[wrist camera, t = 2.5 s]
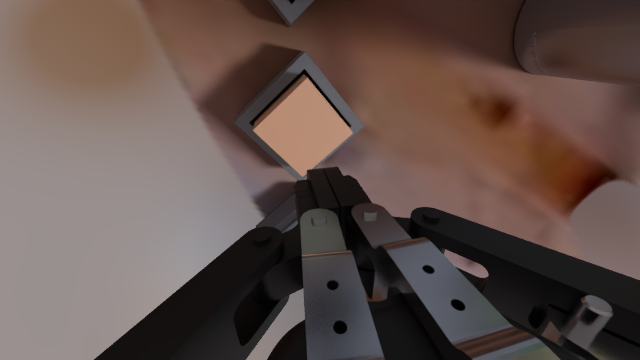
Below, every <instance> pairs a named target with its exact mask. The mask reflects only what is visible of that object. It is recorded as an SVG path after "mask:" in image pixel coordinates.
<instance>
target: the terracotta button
mask: <svg viewBox="0 0 640 360" xmlns="http://www.w3.org/2000/svg"><path fill="white" fill-rule="evenodd" d="M253 131H254V132H255V133H256V134H257V135H258V136H259V137H260V138H261V139H262V140H263V141H265V142H266V143H267V144H268V145H269V146H270V147H271V148H272V149H273V150H274V151H275V152H276V153H277V154H278V155H280V156H281V157H282V158H283V159H284V160H285V161H286V162H287V163H288V164H289V165H290V166H291V167H292V168H294V169H295V170H296V171H297V172H298V173H299V174H300V175H301V176H302V177H303V176H304V175H306V174H307V170H308V169H312V168H314V167H315V166H316V165H317V164H318V163H319V162H321V161H322V160H323V159H324V158H325V157H326V156H327V155H329V154H330V153H331V152H332V151H333V150H334V149H336V148H337V147H338V146H339V145H340V144H341V143H342V142H344V141H345V140H346V139H347V138H348V137H349V136H351V135H352V134H353V132H352V131H351V129H350V128H349V127H348V126H347V125H346V123H345V122H344V121H343V120H342V119H341V117H340V116H339V115H338V114H337V113H336V111H335V110H334V109H333V108H332V107H331V105H330V104H329V103H328V102H327V101H326V99H325V98H324V97H323V96H322V95H321V93H320V92H319V91H318V90H317V88H316V87H315V86H314V85H313V84H312V82H311V81H310V80H309V79H308V78H307V77H306V76H305V75H304V74H302V75H301V76H300V77H299V78H298V79H297V80H296V81H295V82H294V83H293V84H292V85H290V86H289V87H288V88H287V89H286V90H285V91H284V92H283V93H282V94H281V95H280V96H279V97H278V98H277V99H276V100H275V101H274V102H273V103H272V104H271V105H270V106H269V107H268V108H267V109H266V110H265V111H264V112H263V113H262V114H261V115H260V116H259V117H258V118H257V119H256V120H255V122H254V127H253Z"/></svg>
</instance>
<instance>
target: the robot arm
mask: <svg viewBox="0 0 640 360" xmlns="http://www.w3.org/2000/svg"><path fill="white" fill-rule="evenodd" d="M514 49H515V53H516V58H517V59H518V61H519V63H520V65H521V66H522V67H523V68H524V69H525V70H526V71H528V72H530V73H532V74H537V75H545V76H553V77H562V78H570V79H577V80H586V81H595V82H604V83H613V84H621V85H630V86H639V87H640V0H526V2H525V4H524V6H523V8H522V10H521V12H520V15H519V18H518V21H517V24H516V29H515V35H514ZM294 192H295V205H296V215H297V221H298V224H297V225H296V226H295V227H294V228H292V229H291V230H289V231H286V232H284V233H281V231H280V230H278V229H277V228H274V227H269V226H264V227H258V228H255V229H252V230H250V231H248V232H247V233H246V234H245V235H243V236H242V237H241V238H240V239H239V240H237V241H236V242H235V243H234V244H233V245H231V246H230V247H229V248H228V249H227V250H225V251H224V252H223V253H222V254H221V255H220V256H218V257H217V258H216V259H214V260H213V261H212V262H211V263H210V264H208V265H207V266H206V267H205V268H204V269H202V270H201V271H200V272H199V273H198V274H196V275H195V276H194V277H193V278H192V279H190V280H189V281H188V282H187V283H186V284H184V285H183V286H182V287H181V288H180V289H178V290H177V291H176V292H175V293H174V294H172V295H171V296H170V297H169V298H168V299H166V300H165V301H164V302H163V303H162V304H160V305H159V306H158V307H157V308H156V309H154V310H153V311H152V312H151V313H149V314H148V315H147V316H146V317H145V318H144V319H142V320H141V321H140V322H139V323H138V324H136V325H135V326H134V327H133V328H131V329H130V330H129V331H128V332H127V333H126V334H124V335H123V336H122V337H121V338H119V339H118V340H117V341H116V342H115V343H113V345H111V346H110V347H109V348H107V349H106V350H105V351H104V352H103V353H102V354H100V355H99V356H98V357H97V358H95V359H94V360H246V359H247V357H248V356H249V354H250V353H251V352H252V350H253V349H254V348H255V346H256V345H257V343H258V342H259V341H260V339H261V338H262V336H263V335H264V334H265V332H266V331H267V330H268V328H269V327H270V325H271V324H272V322H273V321H274V320H275V319H276V317H277V316H278V314H279V313H280V312H281V310H282V309H283V307H284V306H285V305H286V303H287V302H288V299H289V295H290V294H292V293H294V292H296V291H298V290H300V289H302V288H304V306H305V320H303V321H302V322H300V323H298V324H297V325H296V326H295V327H293V328H292V329H291V330H289V331H288V332H287V333H286V334H285V335H284V336H283V337H282V338H281V340H280V341H279V342H278V343H277V345H276V346H275V348H274V349H273V351H272V352H271V354H270V356H269V357H268V359H267V360H640V280H637V279H634V278H631V277H629V276H626V275H623V274H620V273H617V272H614V271H612V270H609V269H605V268H603V267H600V266H597V265H595V264H592V263H589V262H586V261H583V260H580V259H577V258H575V257H572V256H569V255H566V254H563V253H560V252H558V251H555V250H552V249H549V248H546V247H543V246H541V245H538V244H535V243H532V242H529V241H526V240H523V239H521V238H518V237H515V236H512V235H509V234H506V233H504V232H501V231H498V230H495V229H492V228H489V227H487V226H484V225H481V224H478V223H475V222H472V221H469V220H467V219H464V218H461V217H458V216H455V215H452V214H450V213H447V212H444V211H441V210H438V209H435V208H430V207H420V208H416V209H414V210H413V211H412V213H411V217H410V218H401V217H392V216H391V215H390V213H389V212H388V211H387V210H386V209H385V208H384V207H382V206H380V205H377V204H373V203H372V202H371V201H370V199H369V198H368V196H367V195H366V193H365V192H364V191H363V189H362V187H361V186H360V184H359V183H358V181H357V180H356V179H355V178H353V177H351V176H349V175H347V176H343V175H342V173H341V171H340V170H339V168H338V167H329V168H323V169H322V168H319V169H308V170H307V180H297V182H296V184H295V185H294ZM445 249H447V250H449V251H451V252H453V253H456V254H458V255H460V256H463V257H465V258H467V259H470V260H472V261H474V262H476V263H479V264H481V265H482V266H483V267H485V268H486V270H487V271H488V274H489V276H488V277H486V278H479V277H476V276H474V275H472V274H470V273H468V272H465V271H463V270H461V269H459V268H457V267H455V266H454V265H453V264H452V263H451V262H450V261H449V260H448V259H447V258H446V257H445V256H444V252H445Z"/></svg>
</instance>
